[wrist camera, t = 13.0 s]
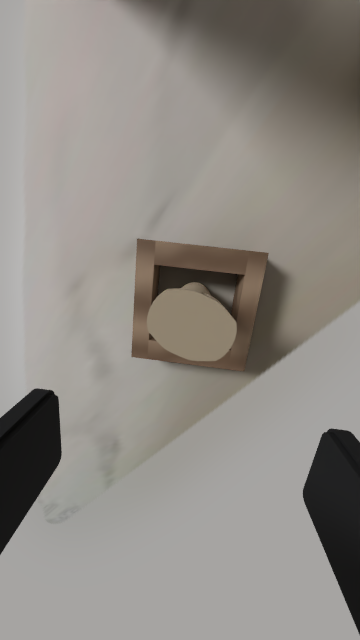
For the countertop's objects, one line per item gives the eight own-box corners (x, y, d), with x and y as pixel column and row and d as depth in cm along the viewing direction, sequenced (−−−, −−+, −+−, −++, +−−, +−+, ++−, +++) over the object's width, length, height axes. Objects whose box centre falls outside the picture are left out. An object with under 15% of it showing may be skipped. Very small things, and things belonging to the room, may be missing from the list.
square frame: (146, 240, 30) (137, 238, 26) (258, 252, 29) (268, 252, 25) (140, 343, 34) (131, 356, 30) (238, 355, 33) (244, 371, 29)
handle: (179, 266, 31) (162, 276, 16) (224, 287, 31) (248, 315, 16) (165, 300, 32) (137, 337, 17) (208, 319, 32) (217, 372, 18)
